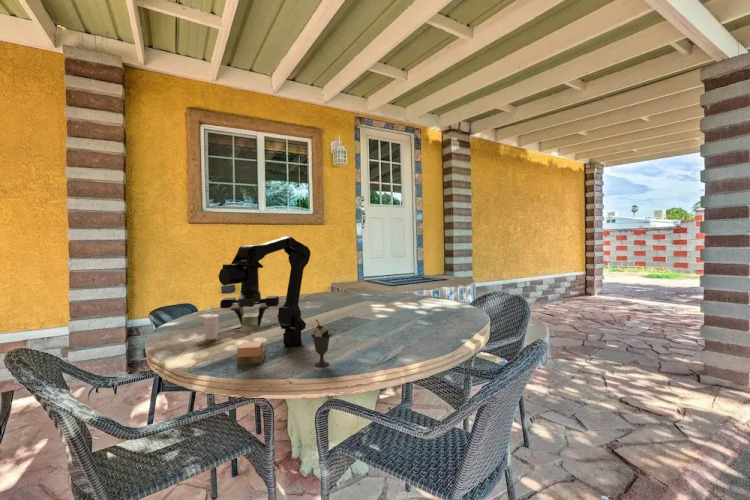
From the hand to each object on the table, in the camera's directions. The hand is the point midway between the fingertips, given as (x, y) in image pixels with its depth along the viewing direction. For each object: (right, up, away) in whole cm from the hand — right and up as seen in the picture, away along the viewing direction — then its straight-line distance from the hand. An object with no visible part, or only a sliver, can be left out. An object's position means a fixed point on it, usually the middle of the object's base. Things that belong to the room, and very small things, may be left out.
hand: (251, 326), depth 127 cm
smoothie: (-26, -11, +28) cm, 40 cm away
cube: (0, -1, 0) cm, 1 cm away
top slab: (0, -9, 0) cm, 9 cm away
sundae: (+25, -12, -5) cm, 28 cm away
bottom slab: (0, -12, +1) cm, 12 cm away
